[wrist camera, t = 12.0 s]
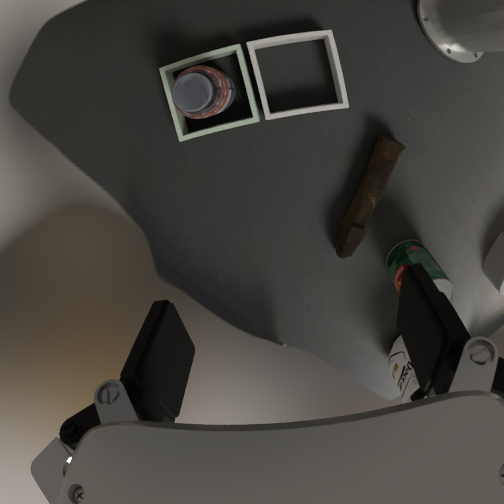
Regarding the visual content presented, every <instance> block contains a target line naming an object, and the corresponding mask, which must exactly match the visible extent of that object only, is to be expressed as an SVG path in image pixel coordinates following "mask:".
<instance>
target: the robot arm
mask: <svg viewBox="0 0 504 504" xmlns="http://www.w3.org/2000/svg"><path fill="white" fill-rule="evenodd" d="M417 15H418V19H419V22H420V25H421V27H422V30H423V31H424V33H425V35H426V37H427V38H428V39H429V41H430V42H431V43H432V45H433V46H434V47H435V48H436V49H437V50H438V51H439V52H441V53H442V54H443V55H444V56H446V57H448V58H449V59H451V60H454V61H456V62H460V63H470V62H474V61H476V60H478V59H479V58H480V57H481V56H482V54H483V52H504V0H418V3H417ZM397 326H398V329H399V331H400V334H401V336H402V339H403V342H404V344H405V347H406V349H407V352H408V355H409V358H410V360H411V363H412V366H413V369H414V372H415V375H416V377H417V380H418V383H419V386H420V389H421V391H422V392H423V391H425V393H426V396H427V398H424V399H420V400H416V401H412V402H408V403H404V404H400V405H396V406H391V407H387V408H382V409H378V410H373V411H367V412H362V413H357V414H351V415H345V416H339V417H332V418H325V419H317V420H309V421H299V422H287V423H273V424H250V425H204V424H182V423H174V421H175V417H178V416H179V413H180V409H181V405H182V401H183V397H184V393H185V389H186V385H187V381H188V377H189V374H190V369H191V366H192V362H193V358H194V354H195V347H194V344H193V342H192V340H191V338H190V336H189V334H188V332H187V330H186V328H185V327H184V324H183V323H182V320H181V318H180V317H179V314H178V312H177V310H176V309H175V306H174V304H173V303H170V302H169V301H168V300H161V301H155V302H154V303H153V304H152V307H151V309H150V311H149V313H148V315H147V317H146V319H145V321H144V324H143V325H142V328H141V330H140V332H139V334H138V336H137V338H136V341H135V343H134V345H133V347H132V349H131V352H130V354H129V356H128V358H127V361H126V363H125V365H124V367H123V370H122V372H121V374H120V375H121V377H120V380H116V379H110V380H107V381H105V382H103V383H102V384H100V385H99V387H98V388H97V389H96V391H95V394H94V403H93V404H91V405H90V406H88V407H86V408H85V409H83V410H82V411H80V412H78V413H77V414H75V415H74V416H72V417H70V418H69V419H67V420H66V421H65V422H64V423H63V425H62V426H61V428H60V433H59V434H60V438H59V439H58V438H57V437H56V438H55V439H54V440H53V441H52V442H51V443H50V444H49V445H48V446H47V447H46V448H45V449H44V450H43V451H42V452H41V453H40V454H39V455H38V456H37V457H36V458H35V459H34V461H33V462H32V465H31V473H32V475H33V477H34V479H35V481H36V482H37V484H38V486H39V487H40V489H41V491H42V492H43V494H44V495H45V497H46V498H47V500H48V501H49V503H50V504H504V359H503V358H500V357H498V353H499V352H498V349H497V347H496V345H495V344H494V342H492V341H491V340H490V339H488V338H486V337H481V336H479V337H474V338H471V337H470V335H469V333H468V332H467V330H466V328H465V326H464V324H463V323H462V321H461V319H460V318H459V316H458V314H457V313H456V311H455V309H454V308H453V306H452V304H451V303H450V301H449V300H448V298H447V296H446V295H445V294H444V292H442V291H441V292H440V291H439V289H438V288H437V286H436V285H435V283H434V282H433V280H432V279H431V277H430V275H429V274H428V273H427V271H426V270H425V268H424V267H423V265H422V264H421V263H416V264H410V265H407V267H406V269H404V270H403V271H402V280H401V290H400V298H399V306H398V314H397ZM434 395H436V396H434ZM431 396H432V397H431Z"/></svg>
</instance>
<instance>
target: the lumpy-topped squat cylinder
mask: <svg viewBox="0 0 504 504" xmlns="http://www.w3.org/2000/svg"><path fill="white" fill-rule="evenodd" d="M482 272H483V273H484V274H485V276H486V277H487V278H488V279H489V280H490V282H491V283H492V284H493V285H494V287H495V288H496V289H497V290H498V292H499V293H500V294H501V295H504V231H503V232H502V233H501V234H500V235H499V236H498V237H497V239H496V240H495V242H494V244H493V245H492V247H491V249H490V250H489V252H488V254H487V256H486V258H485V260H484V262H483V266H482Z"/></svg>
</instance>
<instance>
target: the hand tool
mask: <svg viewBox="0 0 504 504" xmlns="http://www.w3.org/2000/svg"><path fill="white" fill-rule="evenodd" d="M377 137H378V142H377V143H376V144H375V146H374V152H373V155H372V157H371V159H370V160H369V163H368V165H367V170H366V172H365V175H364V177H363V178H362V179H361V183H360V186H359V188H358V190H357V193H356V195H355V197H354V199H353V202H352V204H351V206H350V208H349V210H348V213H347V214H346V216H344V217H343V220H342V222H341V225H340V229H339V233H338V238H337V243H336V253H337V256H338V257H340V258H346V257H349V256H352V254H353V253H354V251H355V250H356V248H357V246H358V245H359V244H360V242H361V241H362V239H363V238H364V236H365V227H366V226H367V224H368V221H369V219H370V217H371V214H372V212H373V211H374V209H375V207H376V205H377V203H378V201H379V199H380V197H381V195H382V193H383V191H384V189H385V187H386V184H387V182H388V180H389V178H390V176H391V173H392V171H393V169H394V166H395V164H396V162H397V159H398V157H399V155H400V153H401V152H402V151H403V150H404V149H405V148H406V147H405V146H404V145H402V144H401V143H399V142H398V141H397V140H395V139H393V138H391V137H389V136H387V135H384V134H383V135H382V134H378V135H377Z"/></svg>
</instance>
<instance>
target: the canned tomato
mask: <svg viewBox="0 0 504 504" xmlns="http://www.w3.org/2000/svg"><path fill="white" fill-rule="evenodd" d="M416 263H421V264H422V265H423V267H424V268H425V270H426V271H427V273H428V274H429V275H430V277H431V279H432V280H433V282H434V283H435V285H436V286H437V288H438V289H439V291H440V292H441V291H442V292H444V294H445V295H446V296H447V298H448V300H449V301H450V303H452V300H453V298H454V292H455V290H454V286H453V284H452V282H451V281H450V280H449V279H448V277H447V276H446V275H445V273H444V272H443V270H442V269H441V268H440V266H439V265H438V264H437V262H436V261H435V260H434V258H433V257H432V256H431V255H430V253H429V252H428V250H427V249H426V248H425V247H424V245H423V244H422V243H421V242H419V241H418V240H414V239H408V240H404V241H401V242H400V243H398V244H396V245H395V246H394V247H393V248H392V249H391V250H390V252H389V253H388V255H387V258H386V262H385V266H386V271H387V273H388V274H389V276H390V278H391V280H392V282H393V284H394V286H395V288H396V290H397V292H398V294H399V296H400V290H401V280H402V271H403V270H404V269H406V267H407V265H410V264H416Z"/></svg>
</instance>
